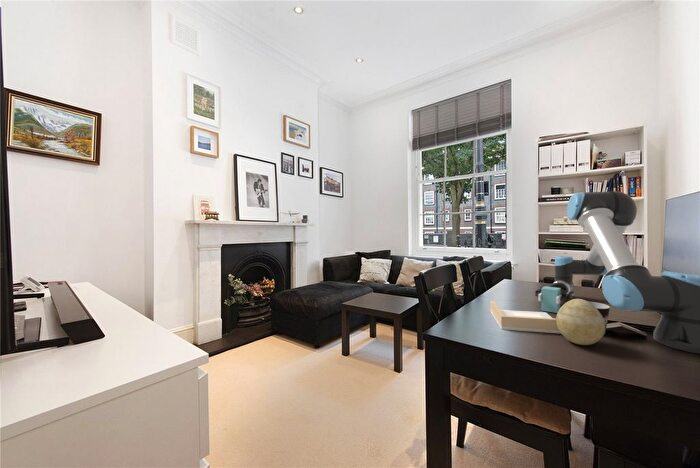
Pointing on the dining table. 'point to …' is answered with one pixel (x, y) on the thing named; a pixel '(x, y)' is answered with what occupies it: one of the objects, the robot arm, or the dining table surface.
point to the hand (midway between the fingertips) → (548, 299)
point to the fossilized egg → (580, 322)
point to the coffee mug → (602, 311)
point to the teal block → (549, 299)
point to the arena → (524, 320)
